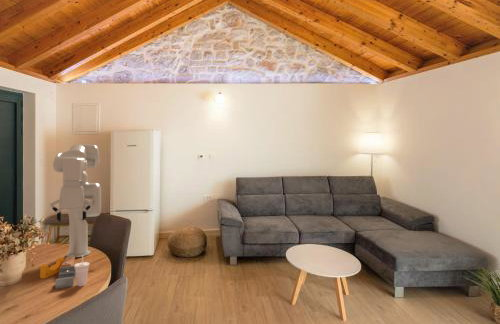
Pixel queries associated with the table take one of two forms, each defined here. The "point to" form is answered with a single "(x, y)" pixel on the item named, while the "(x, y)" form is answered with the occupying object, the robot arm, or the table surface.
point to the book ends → (65, 277)
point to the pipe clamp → (54, 269)
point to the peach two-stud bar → (69, 261)
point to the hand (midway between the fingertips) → (71, 220)
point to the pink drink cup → (81, 272)
